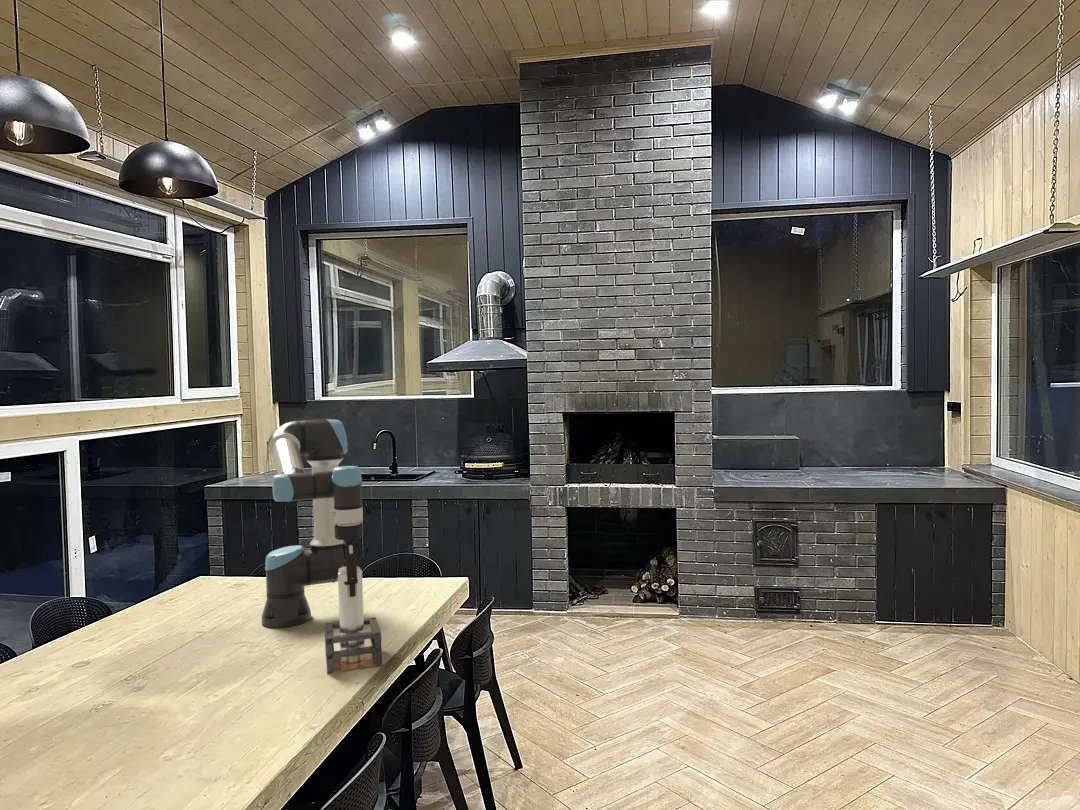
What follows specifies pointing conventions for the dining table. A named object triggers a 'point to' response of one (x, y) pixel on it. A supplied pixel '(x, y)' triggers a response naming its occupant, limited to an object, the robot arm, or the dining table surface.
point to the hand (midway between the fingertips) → (351, 600)
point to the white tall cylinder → (350, 615)
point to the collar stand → (371, 653)
